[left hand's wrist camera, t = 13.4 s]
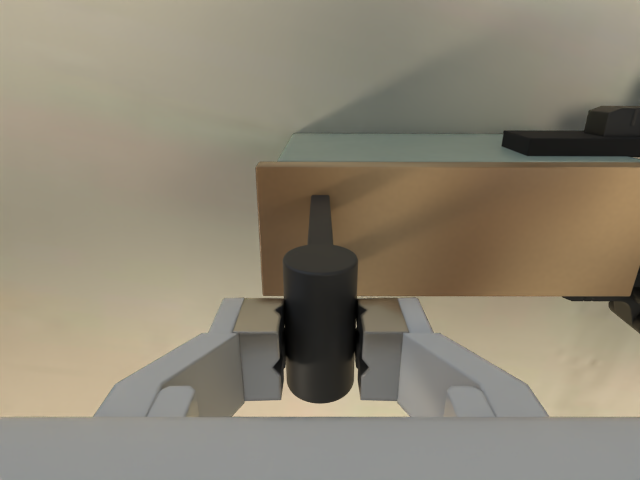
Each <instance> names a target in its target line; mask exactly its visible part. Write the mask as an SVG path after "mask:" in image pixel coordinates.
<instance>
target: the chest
mask: <svg viewBox="0 0 640 480" xmlns="http://www.w3.org/2000/svg"><path fill="white" fill-rule="evenodd" d="M502 139H503V134H314V133H294V134H293V135H292V136H291V138H290V140H289V141H288V143H287V145H286V147H285V148H284V150H283V152H282V154H281V155H280V157H279V159H278V161H277V162H640V159H636V158H632V157H628V156H526V155H523V154H520V153H518V152H515V151H512V150H510V149H507V148H505V147H502Z"/></svg>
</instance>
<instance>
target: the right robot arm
mask: <svg viewBox="0 0 640 480" xmlns="http://www.w3.org/2000/svg"><path fill="white" fill-rule="evenodd" d="M502 147H505V148H507V149H510V150H512V151H515V152H518V153H520V154H523V155H526V156H628V157H640V106H600V107H597V108H595V109H592V110H590V111H589V113H588V117H587V121H586V126H585V130H584V131H504V133H503V139H502ZM562 297H563V298H566V299H568V300H571V301H610V302H609V308H610V310H611V311H613V312H614V313H615V314H616V315H617V316H619V317H620V318H621V319H622V320H624V321H625V322H626V323H627V324H629V325H630V326H631V327H632V328H634V329H635V330H636V331H637V332H639V333H640V266H639V270H638V273H637V276H636V279H635V282H634V285H633V289H632V292H631V295H630V296H562Z"/></svg>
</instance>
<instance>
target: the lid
mask: <svg viewBox="0 0 640 480" xmlns="http://www.w3.org/2000/svg"><path fill="white" fill-rule="evenodd" d="M255 169H256V186H257V204H258V221H259V239H260V257H261V274H262V292H263V296H284V303H285V335H286V373H287V384H288V387H289V389H290V390H291V392H292V393H293V394H294V395H295V396H297V397H298V398H300V399H302V400H304V401H307V402H311V403H330V402H334V401H336V400H339V399H341V398H342V397H344V396H345V395H346V394H347V393H348V392H349V391H350V389H351V388H352V385H353V381H354V357H355V331H356V305H357V296H630V295H631V292H632V289H633V285H634V282H635V279H636V276H637V273H638V270H639V266H640V162H259V163H258V165H257V166H256V168H255Z"/></svg>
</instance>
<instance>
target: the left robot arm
mask: <svg viewBox="0 0 640 480" xmlns="http://www.w3.org/2000/svg"><path fill="white" fill-rule="evenodd" d="M356 322H357V328H356V331H355V361H356V367H357V368H358V385H359V392H360V400H380V401H397V403H398V404H399V405H400V406H401V407H402V408H403V409H404V410H405V411H406V413H407V414H408V415H409V416H410V417H232V416H233V415H234V414H235V413H236V411H237V410H238V409H239V408H240V407H241V406H242V405H243V404H244V401H261V400H281V397H282V390H283V382H284V371H283V369H284V368H285V365H286V335H285V327H284V326H285V303H284V299H280V298H244V297H241V298H224V299H223V300H222V302H221V305H220V307H219V309H218V311H217V314H216V316H215V318H214V320H213V323H212V325H211V327H210V329H209V332H208V333H201V334H199V335H198V336H196V337H194V338H193V339H191V340H189V341H188V342H186V343H184V344H182V345H181V346H179V347H177V348H176V349H174V350H172V351H171V352H169V353H167V354H165V355H164V356H162V357H160V358H159V359H157V360H155V361H154V362H152V363H150V364H148V365H147V366H145V367H143V368H142V369H140V370H138V371H137V372H135V373H133V374H131V375H130V376H128V377H126V378H125V379H123V380H121V381H120V382H118V383H116V384H115V385H114V387H113V388H112V389H111V391H110V392H109V394H108V395H107V397H106V398H105V400H104V401H103V403H102V404H101V406H100V407H99V409H98V410H97V412H96V413H95V415H94V416H93V417H0V480H640V417H549V415H548V414H547V412H546V411H545V409H544V408H543V407H542V405H541V404H540V402H539V401H538V399H537V398H536V396H535V395H534V393H533V392H532V390H531V389H530V387H529V386H528V385H527V384H526V383H524V382H522V381H521V380H519V379H517V378H516V377H514V376H512V375H510V374H509V373H507V372H505V371H504V370H502V369H500V368H498V367H497V366H495V365H493V364H492V363H490V362H488V361H487V360H485V359H483V358H481V357H480V356H478V355H476V354H475V353H473V352H471V351H470V350H468V349H466V348H464V347H463V346H461V345H459V344H458V343H456V342H454V341H453V340H451V339H449V338H447V337H446V336H444V335H442V334H441V333H434V332H433V330H432V328H431V326H430V323H429V321H428V319H427V317H426V315H425V313H424V310H423V308H422V306H421V304H420V302H419V299H418V298H416V297H412V298H369V299H357V305H356Z"/></svg>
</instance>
